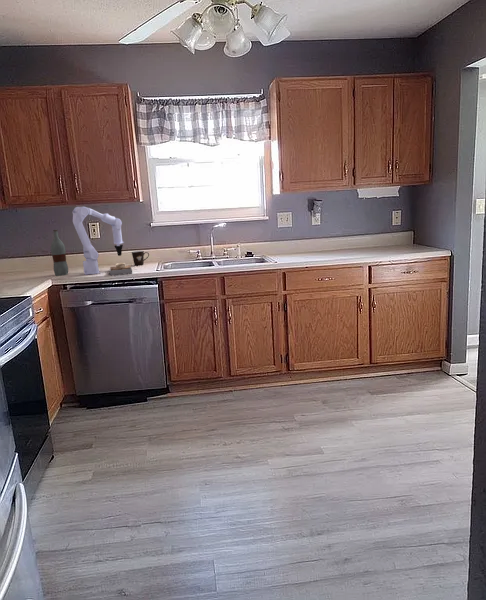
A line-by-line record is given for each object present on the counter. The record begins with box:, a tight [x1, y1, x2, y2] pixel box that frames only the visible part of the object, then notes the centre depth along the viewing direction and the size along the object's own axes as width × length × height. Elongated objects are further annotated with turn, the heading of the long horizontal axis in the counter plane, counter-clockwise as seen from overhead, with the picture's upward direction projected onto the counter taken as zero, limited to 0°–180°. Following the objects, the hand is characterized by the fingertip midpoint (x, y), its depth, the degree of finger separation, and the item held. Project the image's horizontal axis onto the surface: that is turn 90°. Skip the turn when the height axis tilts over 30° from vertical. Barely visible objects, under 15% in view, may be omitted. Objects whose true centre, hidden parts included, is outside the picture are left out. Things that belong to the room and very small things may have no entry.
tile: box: [115, 262, 126, 268], centre depth 313 cm, size 6×6×2 cm
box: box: [109, 266, 133, 276], centre depth 303 cm, size 14×10×3 cm
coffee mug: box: [131, 250, 150, 267], centre depth 337 cm, size 12×9×10 cm
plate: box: [109, 264, 132, 271], centre depth 314 cm, size 14×12×2 cm
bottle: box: [50, 229, 69, 277], centre depth 309 cm, size 9×9×30 cm
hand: (119, 255), depth 321 cm, fingers closed
